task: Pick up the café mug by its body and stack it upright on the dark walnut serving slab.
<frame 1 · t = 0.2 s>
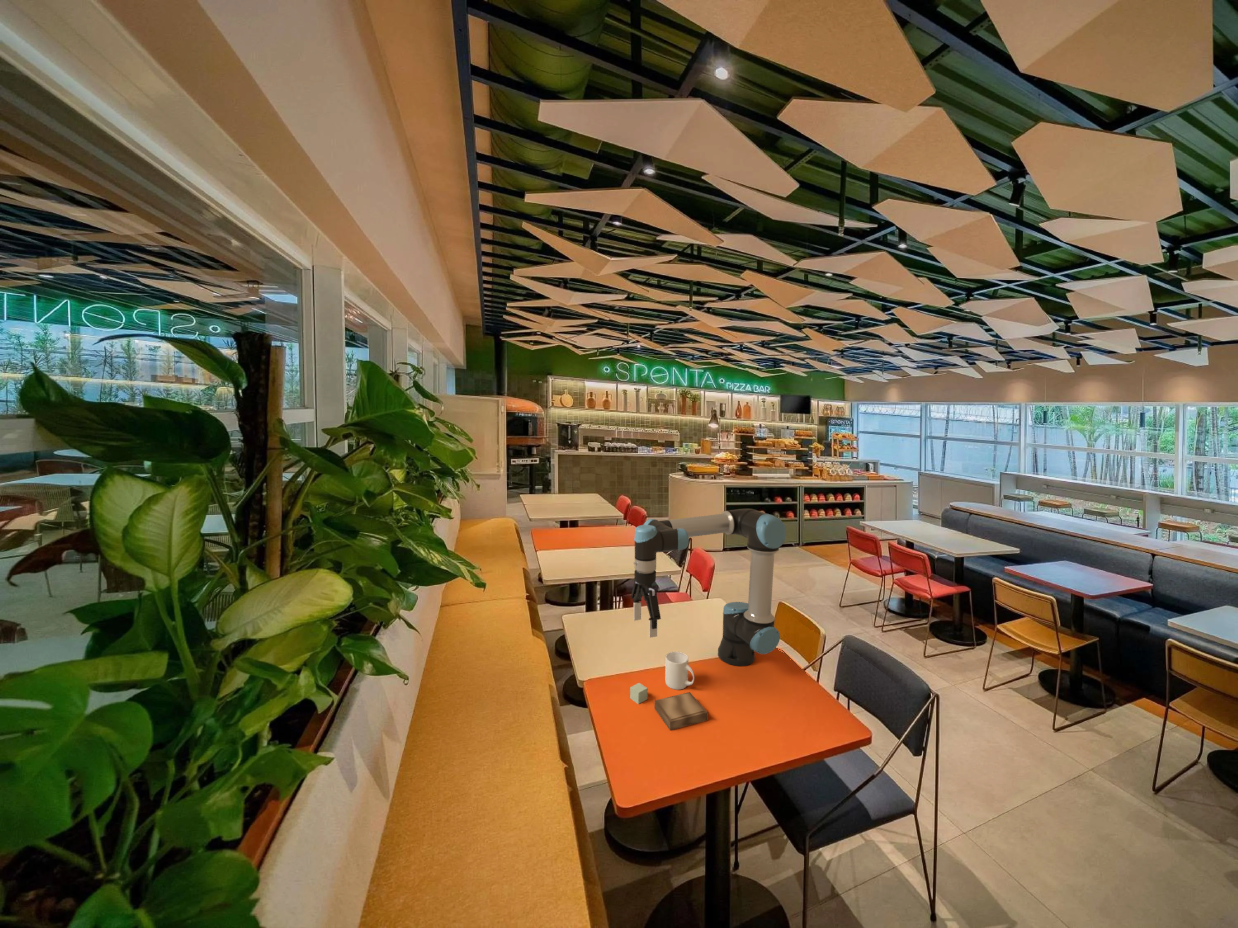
hand: (644, 627, 165), 27 cm above the table, fingers open, 13 cm apart
mug: (680, 685, 177), on the table
slab: (680, 714, 160), on the table
sage block: (638, 698, 169), on the table
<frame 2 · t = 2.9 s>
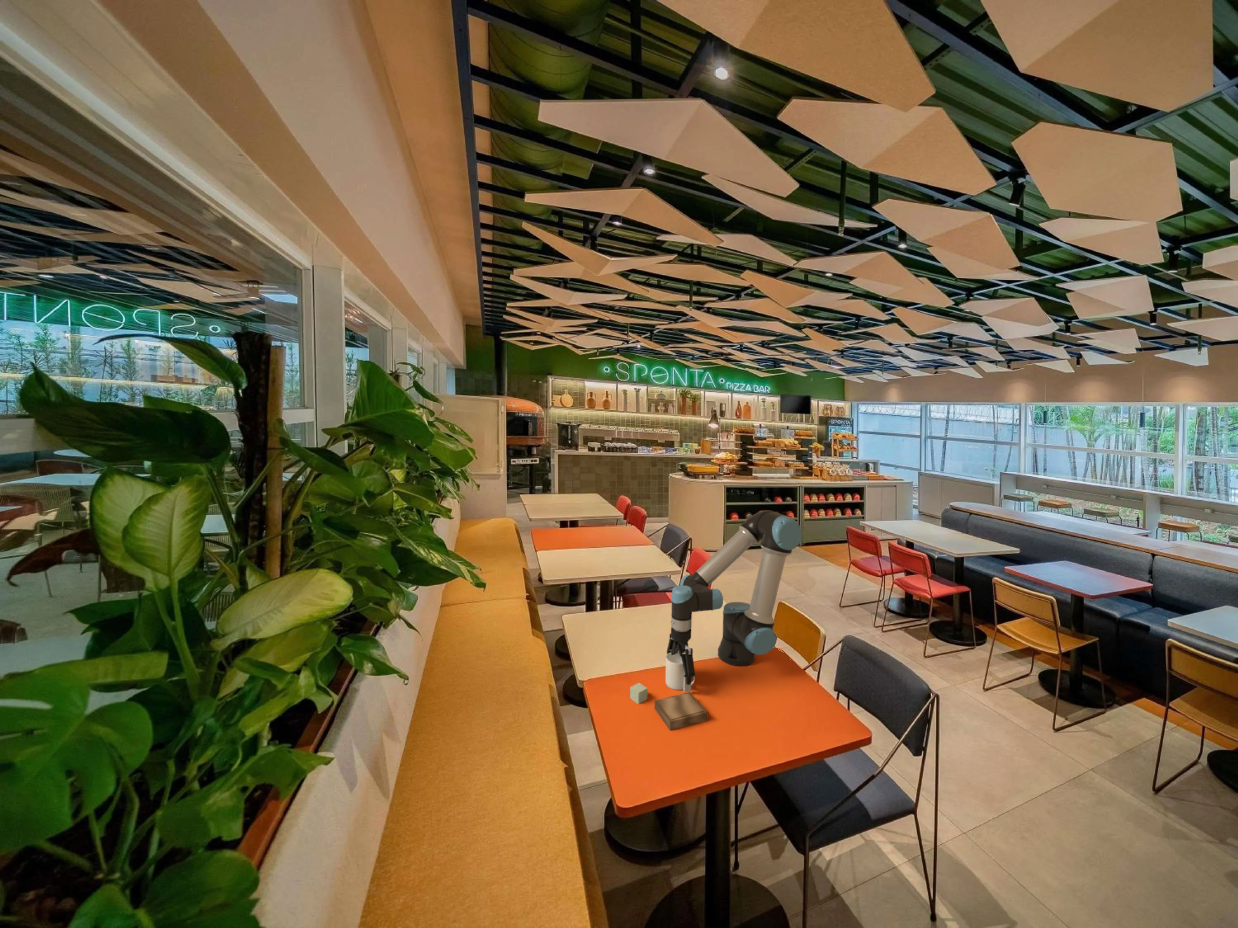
hand: (679, 682, 177), 1 cm above the table, fingers open, 11 cm apart
mug: (680, 686, 177), on the table, touching gripper
everything else where it was.
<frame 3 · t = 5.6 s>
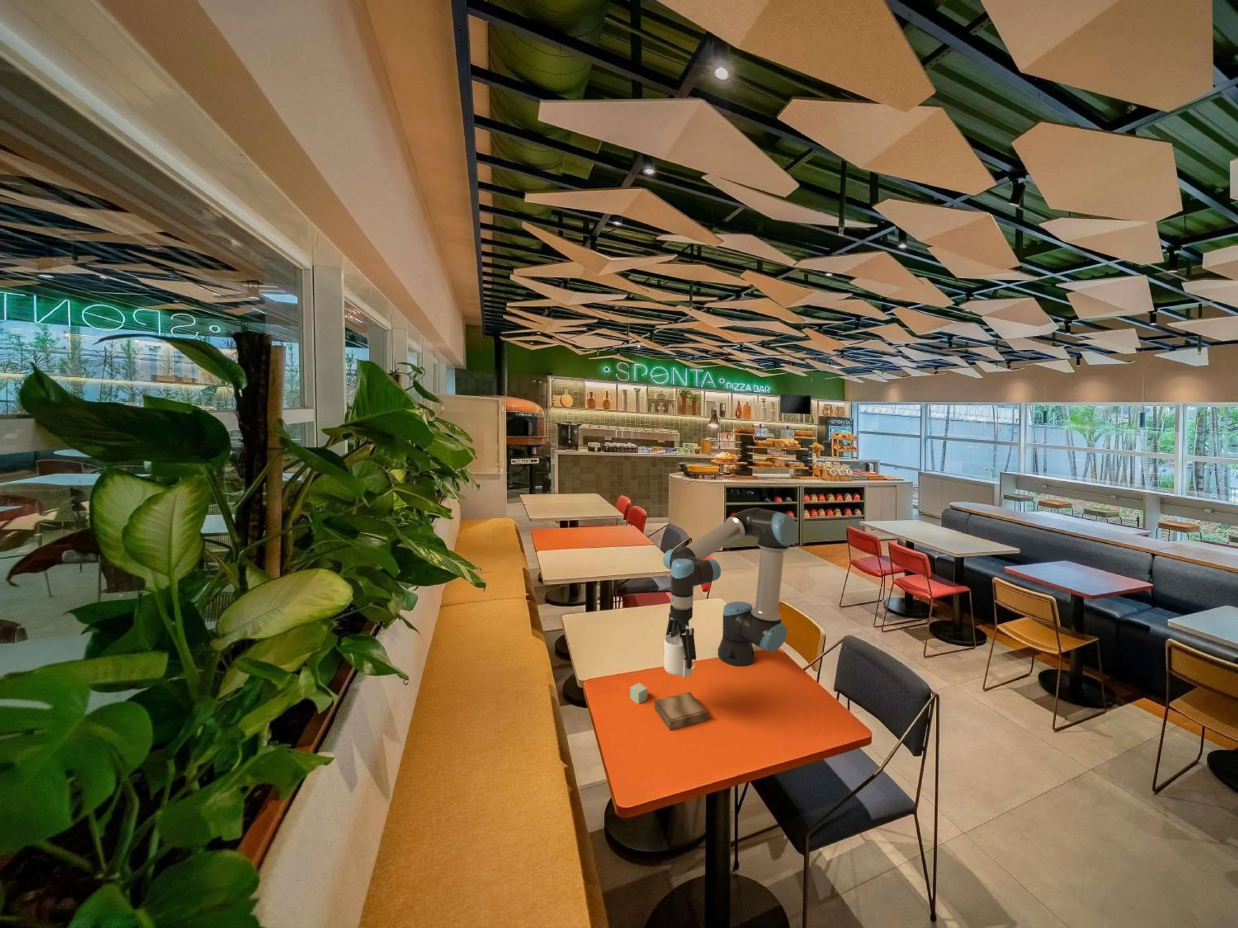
hand: (679, 667, 159), 16 cm above the table, fingers closed on mug, 10 cm apart
mug: (680, 671, 159), point 15 cm above the table, touching gripper
everything else where it was.
when the fingers open (5 cm above the table, at t = 8.3 s): mug stays where it is, resting on slab.
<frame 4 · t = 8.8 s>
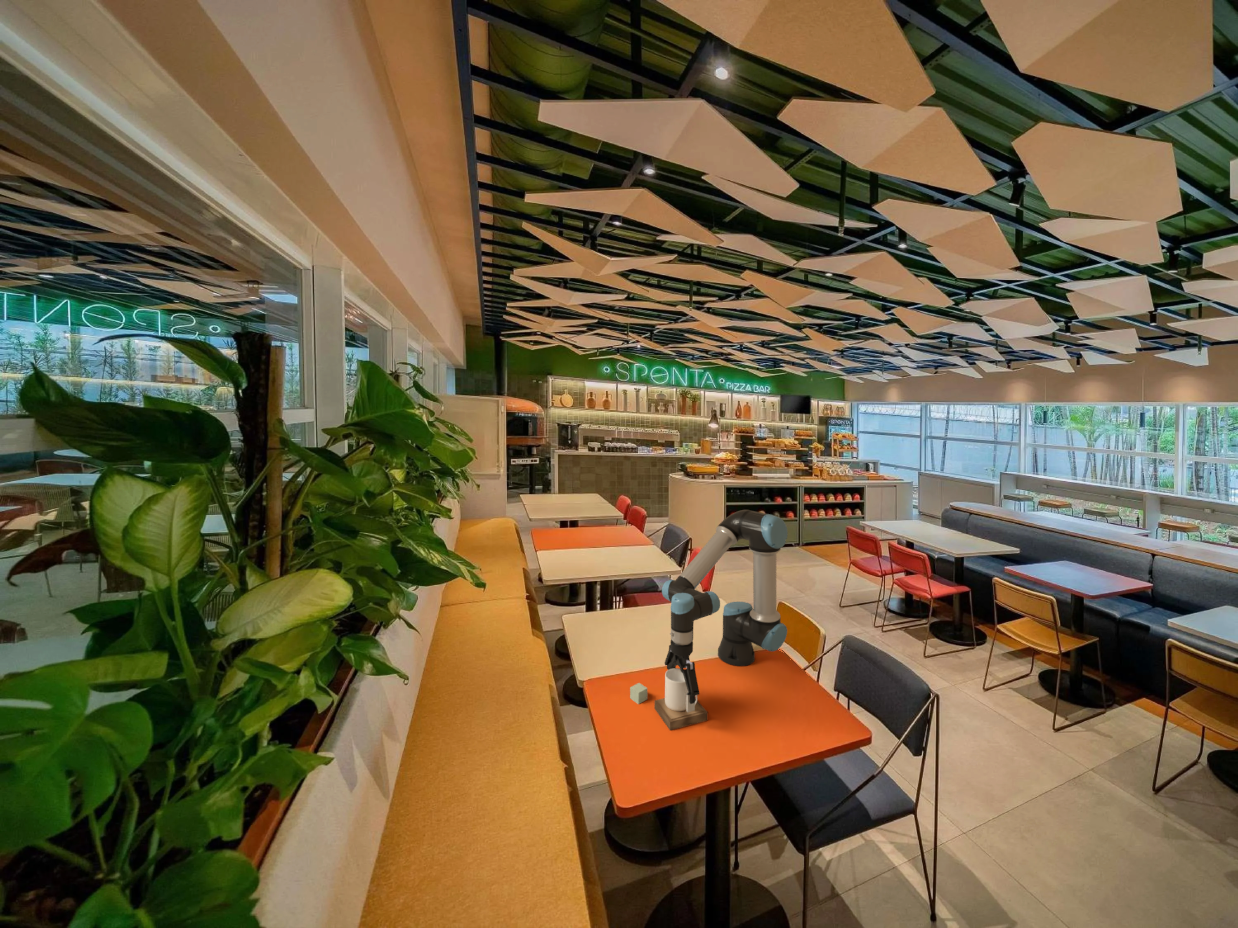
hand: (680, 698, 160), 6 cm above the table, fingers open, 13 cm apart
mug: (681, 706, 160), point 3 cm above the table, touching slab
everything else where it was.
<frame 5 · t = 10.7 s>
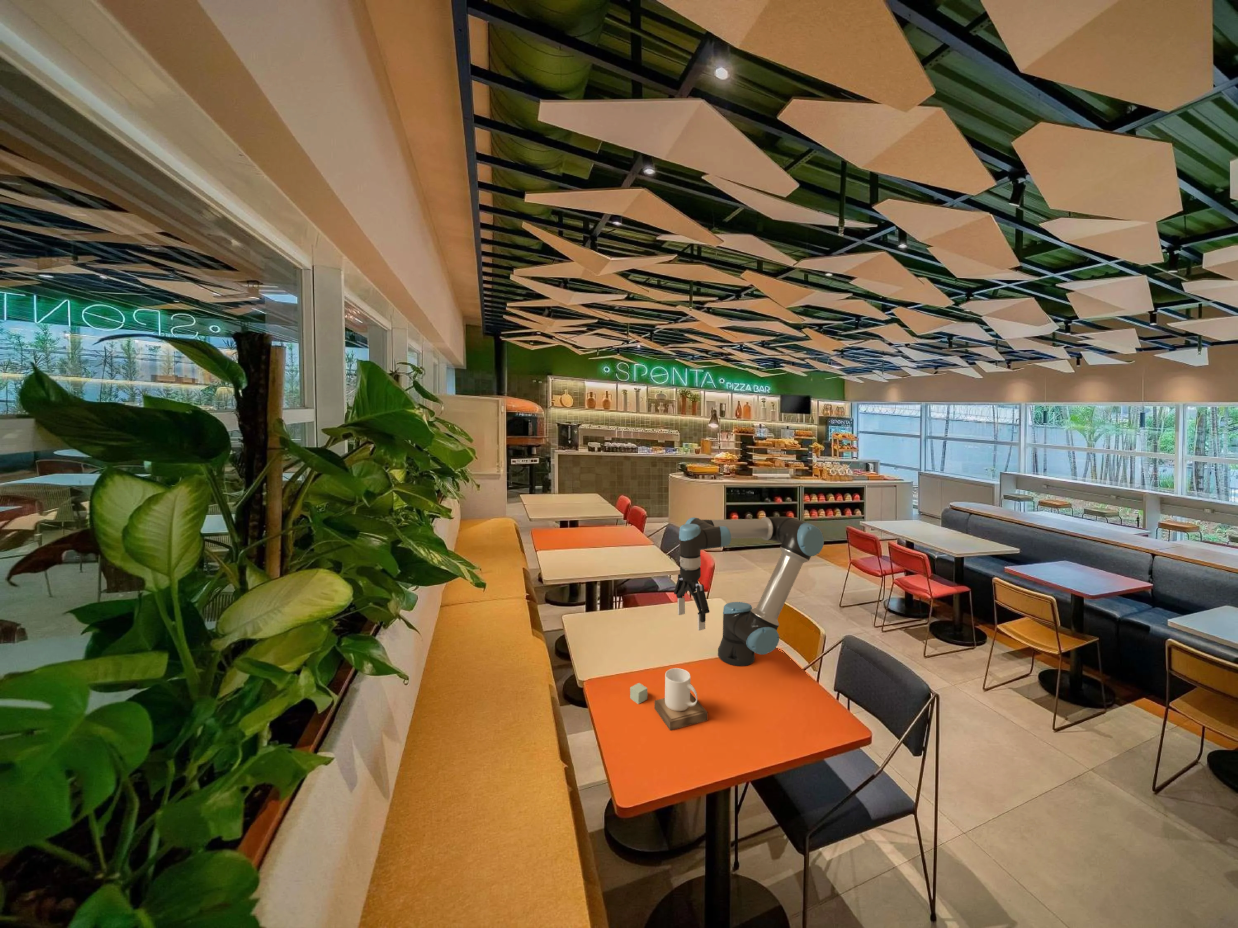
hand: (691, 621, 173), 26 cm above the table, fingers open, 13 cm apart
nothing on the table moved.
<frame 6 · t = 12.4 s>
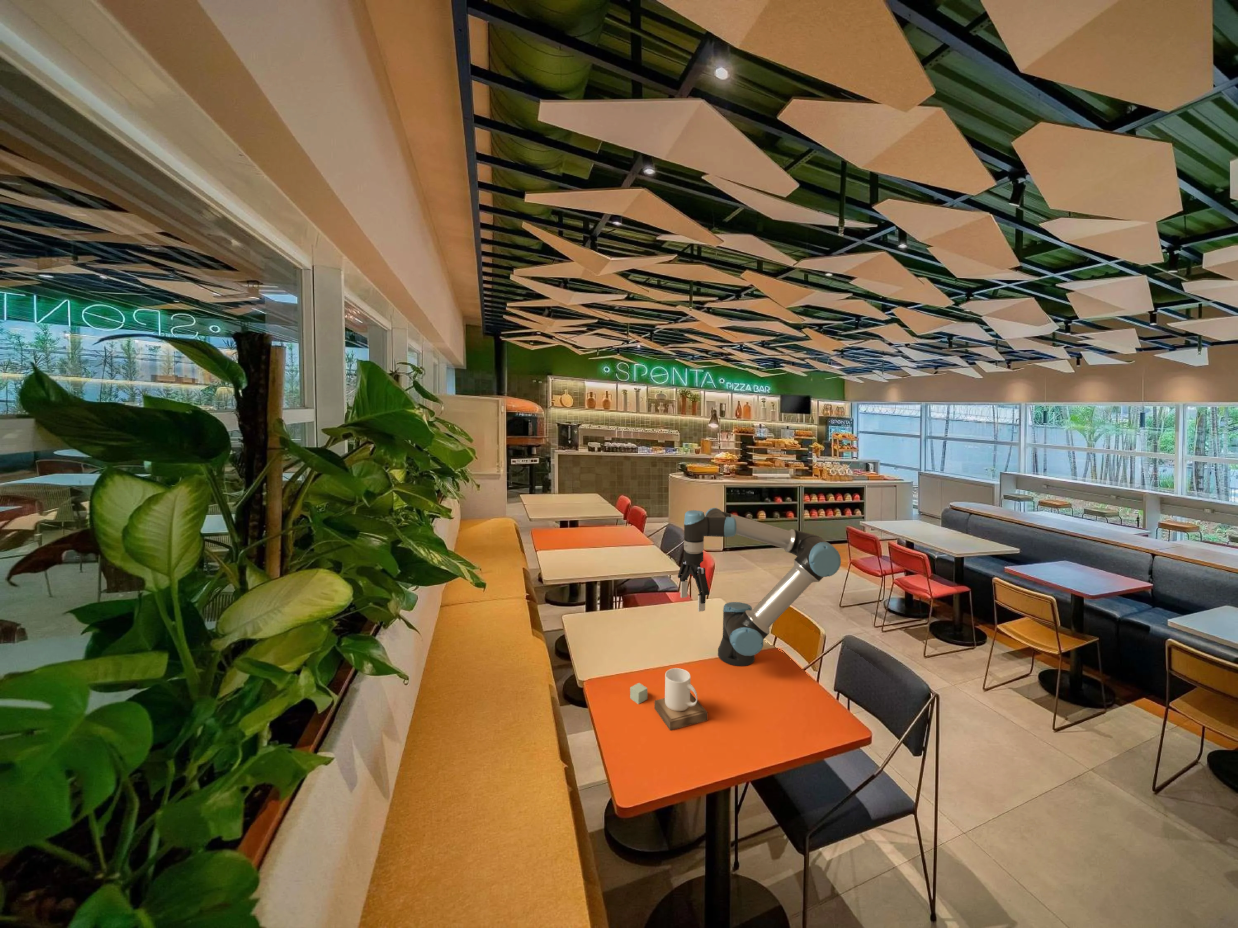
hand: (692, 603, 182), 29 cm above the table, fingers open, 13 cm apart
nothing on the table moved.
at the end: mug inside the target area on the slab (0.4 cm from its centre), point 3.1 cm above the slab's base; mug tilted 0°; the gripper is holding nothing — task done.
